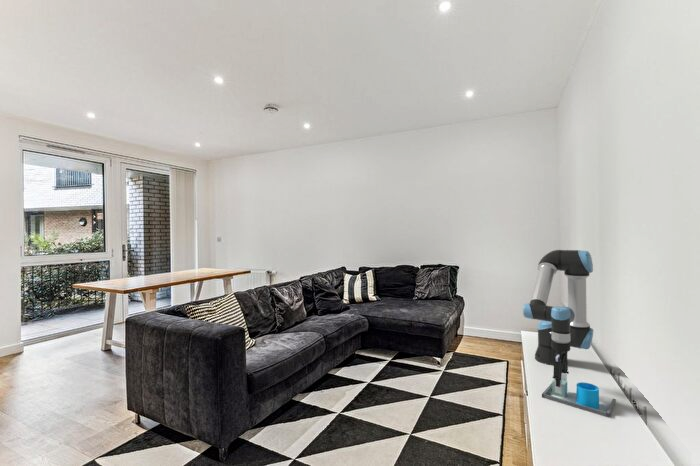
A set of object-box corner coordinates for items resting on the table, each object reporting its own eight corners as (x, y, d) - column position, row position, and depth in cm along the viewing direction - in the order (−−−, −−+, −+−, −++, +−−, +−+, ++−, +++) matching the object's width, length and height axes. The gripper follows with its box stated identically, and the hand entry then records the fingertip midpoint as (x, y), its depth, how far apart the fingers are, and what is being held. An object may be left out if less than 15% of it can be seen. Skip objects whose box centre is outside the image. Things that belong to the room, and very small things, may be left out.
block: (567, 394, 163) (567, 381, 163) (564, 397, 159) (564, 384, 159) (555, 390, 166) (555, 378, 166) (552, 394, 163) (552, 381, 163)
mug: (600, 411, 147) (600, 392, 147) (577, 407, 151) (577, 388, 151) (596, 399, 158) (596, 381, 158) (574, 395, 162) (574, 377, 162)
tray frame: (552, 385, 172) (552, 382, 172) (615, 402, 155) (615, 399, 155) (541, 397, 160) (541, 394, 160) (609, 417, 142) (609, 414, 142)
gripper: (557, 334, 172) (557, 380, 172) (545, 344, 158) (545, 394, 158) (575, 337, 167) (575, 385, 167) (564, 348, 152) (564, 400, 153)
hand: (560, 389), depth 163 cm, fingers open, 7 cm apart
